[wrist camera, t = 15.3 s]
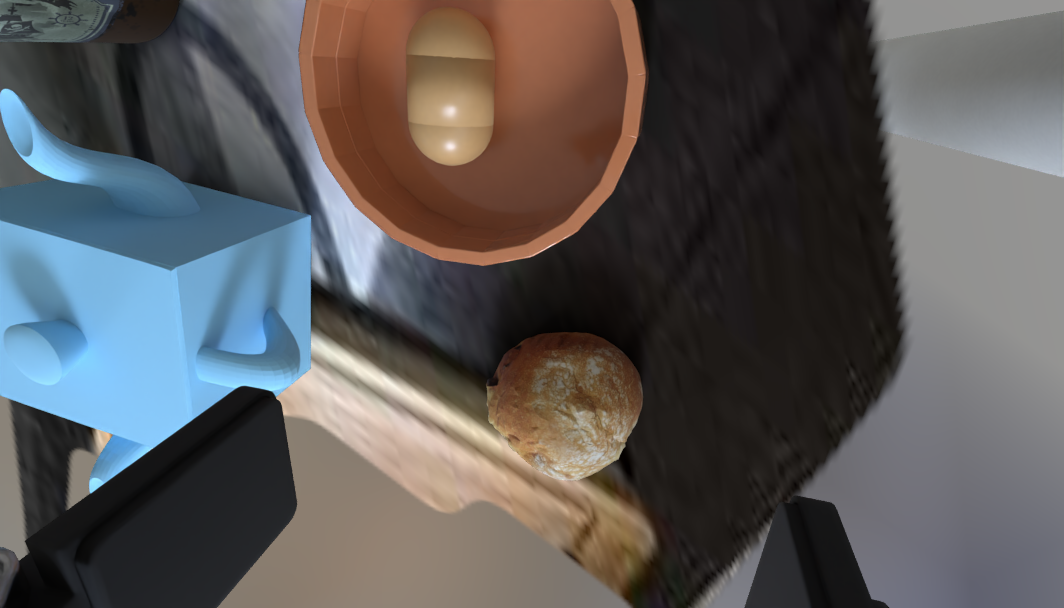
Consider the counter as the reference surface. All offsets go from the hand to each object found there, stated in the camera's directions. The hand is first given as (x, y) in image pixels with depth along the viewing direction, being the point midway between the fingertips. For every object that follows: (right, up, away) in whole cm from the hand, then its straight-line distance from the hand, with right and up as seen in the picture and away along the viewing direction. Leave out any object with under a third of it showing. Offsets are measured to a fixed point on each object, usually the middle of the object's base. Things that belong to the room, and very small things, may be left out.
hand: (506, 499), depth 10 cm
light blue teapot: (-22, +7, +30) cm, 38 cm away
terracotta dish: (-2, +16, +21) cm, 26 cm away
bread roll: (+3, -2, +27) cm, 28 cm away
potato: (-2, +16, +20) cm, 25 cm away
